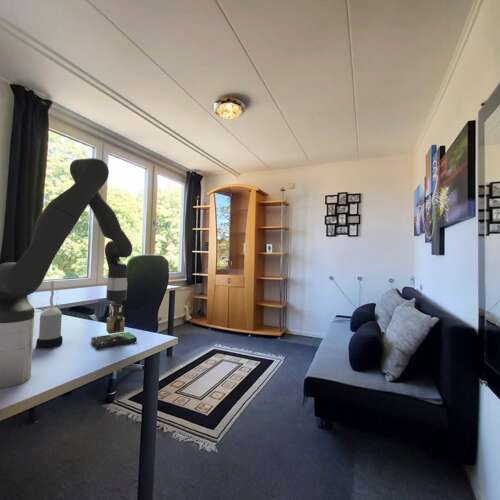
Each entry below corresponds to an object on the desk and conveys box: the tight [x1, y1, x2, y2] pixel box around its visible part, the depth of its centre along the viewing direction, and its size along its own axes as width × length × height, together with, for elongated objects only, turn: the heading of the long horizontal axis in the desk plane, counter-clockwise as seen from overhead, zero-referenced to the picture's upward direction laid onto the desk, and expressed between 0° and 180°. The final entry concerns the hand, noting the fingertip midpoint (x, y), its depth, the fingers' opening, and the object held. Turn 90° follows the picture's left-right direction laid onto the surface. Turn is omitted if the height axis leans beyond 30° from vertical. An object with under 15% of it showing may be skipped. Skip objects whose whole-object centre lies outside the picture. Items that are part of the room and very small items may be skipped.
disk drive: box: [90, 331, 138, 351], centre depth 109 cm, size 10×3×15 cm
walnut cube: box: [105, 316, 126, 335], centre depth 109 cm, size 6×6×6 cm
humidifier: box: [35, 280, 64, 350], centre depth 103 cm, size 8×8×25 cm
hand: (115, 329), depth 109 cm, fingers closed on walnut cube, 5 cm apart
